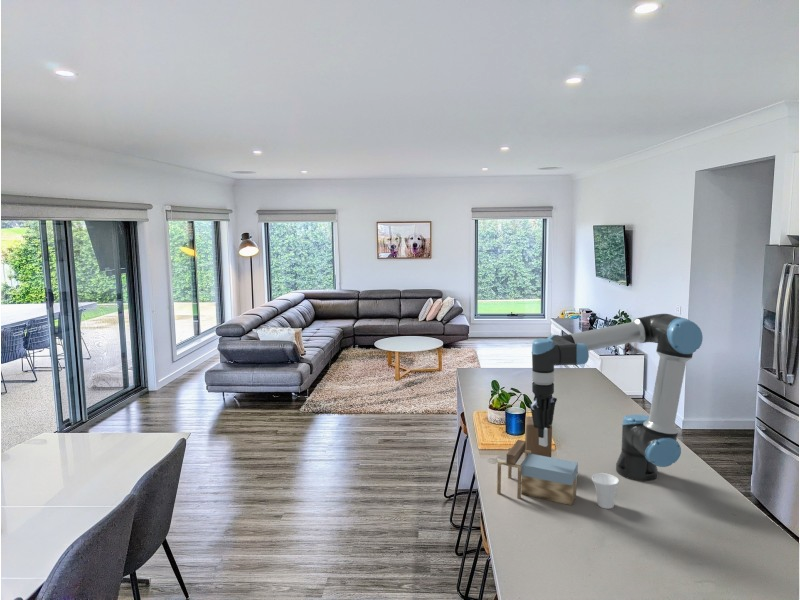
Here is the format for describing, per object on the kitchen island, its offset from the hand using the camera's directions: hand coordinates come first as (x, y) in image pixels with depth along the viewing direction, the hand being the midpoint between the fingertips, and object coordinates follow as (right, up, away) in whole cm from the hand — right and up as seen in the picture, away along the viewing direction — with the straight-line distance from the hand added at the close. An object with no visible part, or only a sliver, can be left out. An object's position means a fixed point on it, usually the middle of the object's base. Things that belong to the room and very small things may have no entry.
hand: (543, 445), depth 196 cm
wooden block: (+4, -16, +23) cm, 28 cm away
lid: (+2, -10, 0) cm, 11 cm away
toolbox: (-1, -18, +3) cm, 18 cm away
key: (-9, -6, +5) cm, 11 cm away
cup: (+20, -19, -7) cm, 28 cm away
